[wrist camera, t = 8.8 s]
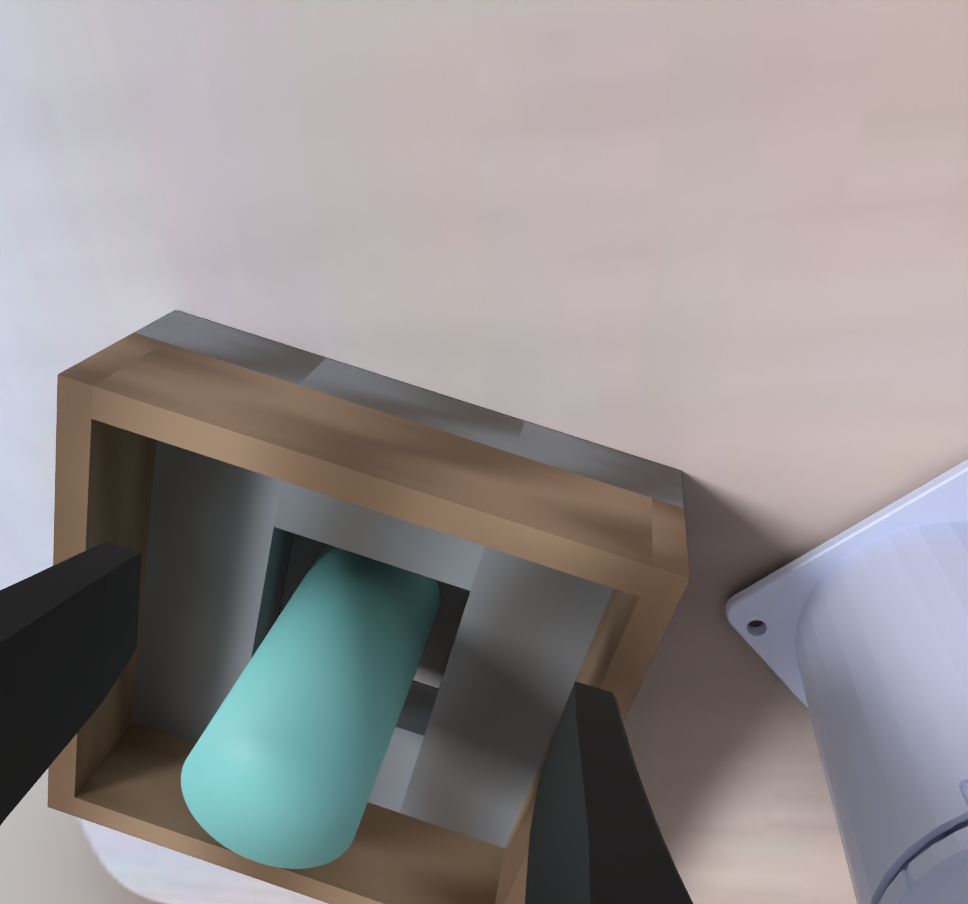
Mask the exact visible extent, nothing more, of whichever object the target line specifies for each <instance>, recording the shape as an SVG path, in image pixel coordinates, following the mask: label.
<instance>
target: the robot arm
mask: <svg viewBox="0 0 968 904" xmlns="http://www.w3.org/2000/svg"><path fill="white" fill-rule="evenodd" d="M141 556H142V552H140V551H136V550H133V549H130V548H126V547H123V546H119V545H116V544H113V543H109V542H104V543H102V544H99V545H97V546H95V547H92V548H90V549H88V550H86V551H84V552H82V553H79V554H77V555H75V556H73V557H71V558H69V559H67V560H65V561H62V562H60V563H58V564H56V565H54V566H52V567H50V568H48V569H46V570H44V571H41V572H39V573H37V574H35V575H33V576H31V577H29V578H26V579H24V580H22V581H20V582H18V583H16V584H13V585H11V586H9V587H7V588H5V589H2V590H0V825H1V824H2V823H3V821H4V820H5V819H6V817H7V816H8V815H9V814H10V812H11V811H12V810H13V809H14V808H15V807H16V805H17V804H18V803H19V802H20V801H21V799H22V798H23V797H24V796H25V795H26V794H27V792H28V791H29V790H30V789H31V788H32V786H33V785H34V784H35V783H36V782H37V780H38V779H39V778H40V777H41V776H42V774H43V773H44V772H45V771H46V769H48V767H49V766H50V765H51V764H52V763H53V761H54V760H55V759H56V758H57V757H58V755H59V754H60V753H61V752H62V751H63V749H64V748H65V747H66V746H67V745H68V744H69V742H70V741H71V740H72V739H73V737H74V736H75V735H76V734H77V733H78V731H79V730H80V729H81V728H82V727H83V725H84V724H85V723H86V722H87V721H88V719H89V718H90V717H91V716H92V714H93V713H94V712H95V711H96V709H97V708H98V707H99V706H100V705H101V703H102V702H103V701H104V699H105V697H106V696H107V694H108V693H109V691H110V690H111V688H112V687H113V685H114V684H115V682H116V681H117V679H118V678H119V676H120V675H121V673H122V671H123V670H124V668H125V667H126V665H127V663H128V662H129V660H130V658H131V657H132V655H133V654H134V652H135V650H136V649H137V633H138V614H139V595H140V576H141ZM725 607H726V617H727V620H728V621H729V623H730V624H731V625H732V626H733V628H734V629H735V630H736V631H737V632H738V633H739V634H740V635H741V636H742V637H743V638H744V640H745V641H746V642H747V643H748V644H749V645H750V646H751V647H752V648H753V649H754V650H755V652H756V653H757V654H758V655H759V656H760V657H761V658H762V659H763V660H764V661H765V663H766V664H767V665H768V666H769V667H770V668H771V669H772V670H773V671H774V672H775V673H776V675H777V676H778V677H779V678H780V679H781V680H782V681H783V682H784V683H785V684H786V685H787V687H788V688H789V689H790V690H791V691H792V692H793V693H794V694H795V695H796V696H797V697H798V699H799V700H800V701H801V702H802V703H803V704H804V705H805V706H806V707H807V708H808V709H809V711H810V715H811V719H812V723H813V727H814V731H815V735H816V740H817V744H818V748H819V752H820V756H821V760H822V764H823V768H824V772H825V776H826V780H827V784H828V788H829V792H830V796H831V800H832V804H833V808H834V812H835V816H836V820H837V824H838V828H839V832H840V836H841V840H842V844H843V848H844V852H845V856H846V860H847V864H848V868H849V872H850V876H851V880H852V884H853V888H854V892H855V896H856V900H857V904H968V459H967V460H965V461H964V462H962V463H960V464H959V465H957V466H955V467H953V468H952V469H950V470H948V471H947V472H945V473H943V474H941V475H940V476H938V477H936V478H934V479H933V480H931V481H929V482H928V483H926V484H924V485H922V486H921V487H919V488H917V489H916V490H914V491H912V492H910V493H909V494H907V495H905V496H904V497H902V498H900V499H898V500H897V501H895V502H893V503H892V504H890V505H888V506H886V507H885V508H883V509H881V510H880V511H878V512H876V513H874V514H873V515H871V516H869V517H868V518H866V519H864V520H862V521H861V522H859V523H857V524H855V525H854V526H852V527H850V528H849V529H847V530H845V531H843V532H842V533H840V534H838V535H837V536H835V537H833V538H831V539H830V540H828V541H826V542H825V543H823V544H821V545H819V546H818V547H816V548H814V549H813V550H811V551H809V552H807V553H806V554H804V555H802V556H801V557H799V558H797V559H795V560H794V561H792V562H790V563H788V564H787V565H785V566H783V567H782V568H780V569H778V570H776V571H775V572H773V573H771V574H770V575H768V576H766V577H764V578H763V579H761V580H759V581H758V582H756V583H754V584H752V585H751V586H749V587H747V588H746V589H744V590H742V591H740V592H739V593H737V594H735V595H734V596H732V597H731V598H730V599H729V600H728V601H727V603H726V606H725ZM754 620H760V621H762V622H764V623H763V624H762V625H761V626H758V627H751V626H749V625H748V624H749V623H750V622H751V621H754ZM525 904H693V902H692V900H691V898H690V896H689V894H688V892H687V890H686V888H685V886H684V884H683V882H682V880H681V877H680V875H679V873H678V871H677V869H676V867H675V864H674V862H673V860H672V857H671V855H670V853H669V851H668V848H667V846H666V844H665V842H664V839H663V837H662V834H661V832H660V829H659V827H658V825H657V822H656V820H655V817H654V814H653V812H652V809H651V806H650V804H649V801H648V798H647V796H646V793H645V790H644V788H643V785H642V782H641V779H640V777H639V774H638V771H637V768H636V765H635V762H634V759H633V755H632V752H631V749H630V746H629V743H628V739H627V736H626V733H625V729H624V726H623V722H622V718H621V715H620V711H619V707H618V703H617V699H616V698H615V696H614V694H613V692H610V691H606V690H603V689H599V688H596V687H593V686H589V685H586V684H583V683H579V682H576V681H575V682H574V685H573V687H572V690H571V693H570V695H569V698H568V701H567V703H566V706H565V708H564V711H563V714H562V716H561V719H560V721H559V724H558V727H557V729H556V732H555V735H554V737H553V740H552V742H551V745H550V748H549V750H548V753H547V755H546V758H545V761H544V763H543V766H542V769H541V772H540V777H539V783H538V788H537V794H536V799H535V805H534V811H533V816H532V822H531V828H530V836H529V849H528V864H527V878H526V894H525Z"/></svg>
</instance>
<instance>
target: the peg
mask: <svg viewBox="0 0 968 904" xmlns="http://www.w3.org/2000/svg"><path fill="white" fill-rule="evenodd" d="M439 606H440V592H439V587H438V583H437V580H435V579H432V578H429V577H426V576H423V575H420V574H417V573H414V572H411V571H408V570H405V569H402V568H399V567H396V566H392V565H389V564H386V563H383V562H380V561H377V560H374V559H371V558H368V557H365V556H362V555H359V554H356V553H353V552H350V551H347V550H344V549H340V548H337V547H334V546H331V545H328V546H326V547H325V548H324V549H323V550H322V551H321V553H320V554H319V556H318V557H317V559H316V560H315V562H314V563H313V565H312V566H311V568H310V569H309V571H308V572H307V574H306V575H305V577H304V579H303V580H302V582H301V583H300V585H299V586H298V588H297V589H296V591H295V592H294V594H293V595H292V597H291V599H290V600H289V602H288V603H287V605H286V606H285V608H284V609H283V611H282V612H281V614H280V615H279V617H278V619H277V620H276V622H275V623H274V625H273V626H272V628H271V629H270V631H269V632H268V634H267V635H266V637H265V639H264V640H263V642H262V643H261V645H260V646H259V648H258V649H257V651H256V652H255V654H254V655H253V657H252V659H251V660H250V662H249V663H248V665H247V666H246V668H245V669H244V671H243V672H242V674H241V675H240V677H239V679H238V680H237V682H236V683H235V685H234V686H233V688H232V689H231V691H230V692H229V694H228V695H227V697H226V699H225V700H224V702H223V703H222V705H221V706H220V708H219V709H218V711H217V712H216V714H215V715H214V717H213V719H212V720H211V722H210V723H209V725H208V726H207V728H206V729H205V731H204V732H203V734H202V735H201V737H200V739H199V740H198V742H197V743H196V745H195V746H194V748H193V749H192V751H191V752H190V754H189V756H188V757H187V759H186V760H185V763H184V765H183V768H182V773H181V788H182V793H183V796H184V799H185V802H186V804H187V806H188V808H189V810H190V812H191V813H192V815H193V817H194V818H195V819H196V821H197V822H198V823H199V824H200V826H201V827H202V828H203V829H204V830H205V831H206V832H207V833H208V834H209V835H210V836H212V837H213V838H214V839H215V840H216V841H218V842H219V843H221V844H222V845H223V846H225V847H226V848H228V849H230V850H231V851H233V852H235V853H237V854H239V855H241V856H243V857H245V858H247V859H250V860H252V861H255V862H258V863H261V864H265V865H268V866H273V867H278V868H287V869H305V868H313V867H317V866H321V865H324V864H327V863H329V862H331V861H333V860H335V859H337V858H338V857H339V856H341V855H342V854H343V853H344V852H345V851H346V850H347V849H348V848H349V847H350V845H351V843H352V842H353V840H354V837H355V835H356V832H357V829H358V826H359V824H360V821H361V818H362V816H363V813H364V810H365V808H366V805H367V802H368V800H369V797H370V794H371V791H372V789H373V786H374V783H375V781H376V778H377V775H378V773H379V770H380V767H381V764H382V762H383V759H384V756H385V754H386V751H387V748H388V746H389V743H390V740H391V738H392V735H393V732H394V729H395V727H396V724H397V721H398V719H399V716H400V713H401V711H402V708H403V705H404V703H405V700H406V697H407V694H408V692H409V689H410V686H411V684H412V681H413V678H414V676H415V673H416V670H417V667H418V665H419V662H420V659H421V657H422V654H423V651H424V649H425V646H426V643H427V641H428V638H429V635H430V632H431V630H432V627H433V624H434V622H435V619H436V616H437V614H438V611H439Z"/></svg>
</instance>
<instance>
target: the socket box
mask: <svg viewBox="0 0 968 904" xmlns="http://www.w3.org/2000/svg"><path fill="white" fill-rule="evenodd" d="M294 533H295V534H298V535H301V536H304V537H307V538H310V539H313V540H316V541H319V542H322V543H325V544H328V545H331V546H334V547H337V548H340V549H344V550H347V551H350V552H353V553H356V554H359V555H362V556H365V557H368V558H371V559H374V560H377V561H380V562H383V563H386V564H389V565H392V566H396V567H399V568H402V569H405V570H408V571H411V572H414V573H417V574H420V575H423V576H426V577H429V578H432V579H435V580H438V581H441V582H444V583H448V584H451V585H454V586H457V587H460V588H463V589H466V590H469V591H470V594H469V597H468V600H467V603H466V606H465V609H464V613H463V616H462V619H461V622H460V625H459V628H458V631H457V635H456V638H455V641H454V644H453V647H452V650H451V653H450V657H449V660H448V663H447V666H446V669H445V672H444V675H443V678H442V682H441V685H440V688H439V690H438V689H435V688H432V687H429V686H426V685H423V684H420V683H417V682H414V681H412V684H411V686H410V689H409V692H408V694H407V697H406V700H405V703H404V705H403V708H402V711H401V713H400V716H399V719H398V721H397V724H396V727H395V729H394V732H393V735H392V738H391V740H390V743H389V746H388V748H387V751H386V754H385V756H384V759H383V762H382V764H381V767H380V770H379V773H378V775H377V778H376V781H375V783H374V786H373V789H372V791H371V794H370V797H369V800H368V802H367V805H366V808H365V810H364V813H363V816H362V818H361V821H360V824H359V826H358V829H357V832H356V835H355V837H354V840H353V842H352V843H351V845H350V847H349V848H348V849H347V850H346V851H345V852H344V853H343V854H342V855H341V856H339V857H338V858H337V859H335V860H333V861H331V862H329V863H327V864H324V865H321V866H317V867H313V868H305V869H287V868H278V867H273V866H268V865H265V864H261V863H258V862H255V861H252V860H250V859H247V858H245V857H243V856H241V855H239V854H237V853H235V852H233V851H231V850H230V849H228V848H226V847H225V846H223V845H222V844H221V843H219V842H218V841H216V840H215V839H214V838H213V837H212V836H210V835H209V834H208V833H207V832H206V831H205V830H204V829H203V828H202V827H201V826H200V824H199V823H198V822H197V821H196V819H195V818H194V817H193V815H192V813H191V812H190V810H189V808H188V806H187V804H186V802H185V799H184V796H183V793H182V788H181V773H182V768H183V765H184V763H185V760H186V759H187V757H188V756H189V754H190V752H191V751H192V749H193V748H194V746H195V745H196V743H197V742H198V740H199V739H200V737H201V735H202V734H203V732H204V731H205V729H206V728H207V726H208V725H209V723H210V722H211V720H212V719H213V717H214V715H215V714H216V712H217V711H218V709H219V708H220V706H221V705H222V703H223V702H224V700H225V699H226V697H227V695H228V694H229V692H230V691H231V689H232V688H233V686H234V685H235V683H236V682H237V680H238V679H239V677H240V675H241V674H242V672H243V671H244V669H245V668H246V666H247V665H248V663H249V662H250V660H251V659H252V657H253V655H254V654H255V652H256V651H257V649H258V648H259V646H260V645H261V643H262V642H263V640H264V639H265V637H266V635H267V634H268V632H269V631H270V629H271V628H272V626H273V625H274V623H275V622H276V620H277V619H278V614H279V609H280V603H281V598H282V593H283V587H284V582H285V577H286V571H287V566H288V560H289V555H290V550H291V544H292V539H293V534H294ZM104 542H109V543H113V544H116V545H119V546H123V547H126V548H130V549H133V550H136V551H140V552H142V556H141V576H140V595H139V614H138V633H137V649H136V650H135V652H134V654H133V655H132V657H131V658H130V660H129V662H128V663H127V665H126V667H125V668H124V670H123V671H122V673H121V675H120V676H119V678H118V679H117V681H116V682H115V684H114V685H113V687H112V688H111V690H110V691H109V693H108V694H107V696H106V697H105V699H104V701H103V702H102V703H101V705H100V706H99V707H98V708H97V709H96V711H95V712H94V713H93V714H92V716H91V717H90V718H89V719H88V721H87V722H86V723H85V724H84V725H83V727H82V728H81V729H80V730H79V731H78V733H77V734H76V735H75V736H74V737H73V739H72V740H71V741H70V742H69V744H68V745H67V746H66V747H65V748H64V749H63V751H62V752H61V753H60V754H59V755H58V757H57V758H56V759H55V760H54V761H53V763H52V764H51V765H50V766H49V774H48V775H49V776H48V807H50V808H53V809H56V810H58V811H62V812H64V813H68V814H70V815H73V816H76V817H79V818H82V819H85V820H87V821H90V822H93V823H96V824H99V825H102V826H105V827H108V828H111V829H114V830H117V831H119V832H122V833H125V834H128V835H131V836H134V837H137V838H140V839H143V840H146V841H149V842H151V843H154V844H157V845H160V846H163V847H166V848H169V849H172V850H175V851H178V852H181V853H183V854H186V855H189V856H192V857H195V858H198V859H201V860H204V861H207V862H210V863H213V864H215V865H218V866H221V867H224V868H227V869H230V870H233V871H236V872H239V873H242V874H245V875H247V876H250V877H253V878H256V879H259V880H262V881H265V882H268V883H271V884H274V885H277V886H279V887H282V888H285V889H288V890H291V891H294V892H297V893H300V894H303V895H306V896H309V897H311V898H314V899H317V900H320V901H323V902H326V903H329V904H525V894H526V878H527V864H528V849H529V836H530V828H531V822H532V816H533V811H534V805H535V799H536V794H537V788H538V783H539V777H540V772H541V769H542V766H543V763H544V761H545V758H546V755H547V753H548V750H549V748H550V745H551V742H552V740H553V737H554V735H555V732H556V729H557V727H558V724H559V721H560V719H561V716H562V714H563V711H564V708H565V706H566V703H567V701H568V698H569V695H570V693H571V690H572V687H573V685H574V682H575V681H576V682H579V683H583V684H586V685H589V686H593V687H596V688H599V689H603V690H606V691H610V692H613V694H614V696H615V698H616V699H617V703H618V707H619V711H620V715H621V718H622V722H623V720H624V718H625V716H626V714H627V712H628V710H629V708H630V705H631V703H632V701H633V699H634V697H635V695H636V693H637V691H638V688H639V686H640V684H641V682H642V680H643V678H644V676H645V674H646V671H647V669H648V667H649V665H650V663H651V661H652V659H653V657H654V654H655V652H656V650H657V648H658V646H659V644H660V642H661V640H662V637H663V635H664V633H665V631H666V629H667V627H668V625H669V623H670V620H671V618H672V616H673V614H674V612H675V610H676V608H677V606H678V603H679V601H680V599H681V597H682V595H683V593H684V591H685V589H686V586H687V584H688V582H689V580H690V572H689V561H688V549H687V537H686V526H685V514H684V502H683V491H682V479H681V471H680V470H677V469H674V468H671V467H667V466H664V465H661V464H658V463H655V462H652V461H649V460H645V459H642V458H639V457H636V456H633V455H630V454H627V453H623V452H620V451H617V450H614V449H611V448H608V447H605V446H601V445H598V444H595V443H592V442H589V441H586V440H583V439H579V438H576V437H573V436H570V435H567V434H564V433H561V432H557V431H554V430H551V429H548V428H545V427H542V426H539V425H535V424H532V423H529V422H526V421H523V420H520V419H517V418H513V417H510V416H507V415H504V414H501V413H498V412H495V411H491V410H488V409H485V408H482V407H479V406H476V405H473V404H469V403H466V402H463V401H460V400H457V399H454V398H451V397H447V396H444V395H441V394H438V393H435V392H432V391H429V390H425V389H422V388H419V387H416V386H413V385H410V384H407V383H403V382H400V381H397V380H394V379H391V378H388V377H385V376H381V375H378V374H375V373H372V372H369V371H366V370H363V369H359V368H356V367H353V366H350V365H347V364H344V363H341V362H337V361H334V360H331V359H328V358H325V357H322V356H319V355H315V354H312V353H309V352H306V351H303V350H300V349H297V348H293V347H290V346H287V345H284V344H281V343H278V342H275V341H271V340H268V339H265V338H262V337H259V336H256V335H252V334H249V333H246V332H243V331H240V330H237V329H234V328H230V327H227V326H224V325H221V324H218V323H215V322H212V321H208V320H205V319H202V318H199V317H196V316H193V315H190V314H186V313H183V312H180V311H177V310H174V311H172V312H171V313H169V314H167V315H165V316H163V317H161V318H160V319H158V320H156V321H154V322H152V323H151V324H149V325H147V326H145V327H143V328H141V329H140V330H138V331H136V332H134V333H132V334H131V335H129V336H127V337H125V338H123V339H122V340H120V341H118V342H116V343H114V344H112V345H111V346H109V347H107V348H105V349H103V350H102V351H100V352H98V353H96V354H94V355H92V356H91V357H89V358H87V359H85V360H83V361H82V362H80V363H78V364H76V365H74V366H72V367H71V368H69V369H67V370H65V371H63V372H62V373H60V374H58V385H57V428H56V471H55V514H54V557H53V566H54V565H56V564H58V563H60V562H62V561H65V560H67V559H69V558H71V557H73V556H75V555H77V554H79V553H82V552H84V551H86V550H88V549H90V548H92V547H95V546H97V545H99V544H102V543H104Z"/></svg>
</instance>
